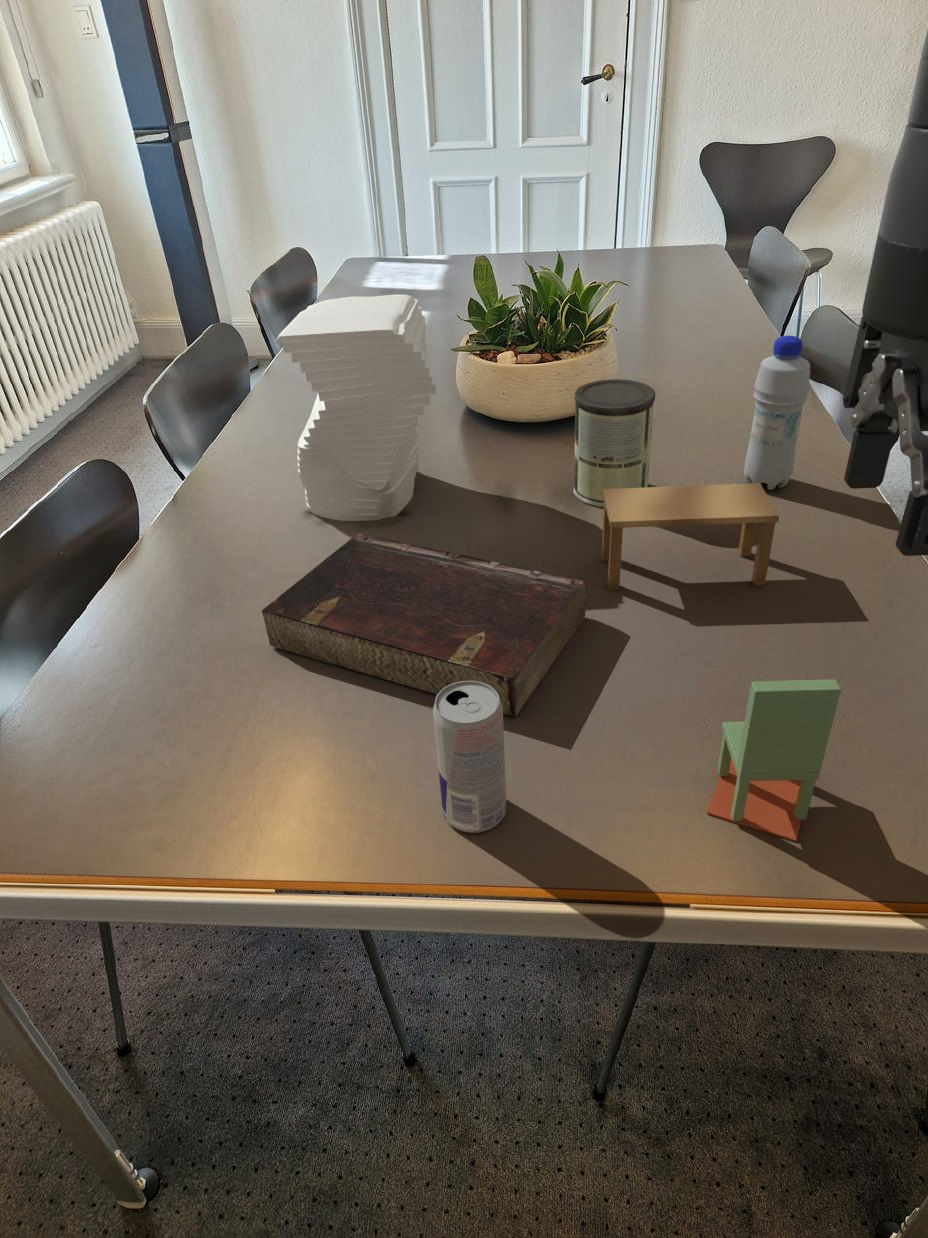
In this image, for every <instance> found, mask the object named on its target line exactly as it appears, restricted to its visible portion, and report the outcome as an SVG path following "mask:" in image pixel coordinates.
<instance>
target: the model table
mask: <svg viewBox="0 0 928 1238" xmlns="http://www.w3.org/2000/svg"><path fill="white" fill-rule="evenodd" d="M602 495H603V499H604V507H603V516H602V517H603V518H602V520H603V521H602V539H601V540H602V541H601V560H602V562H608V571H607V588H608V590H609V591H620V585H621V567H622V551H623V550H622V548H623V532H624V528H625V529H626V528H649V527H652V528H653V527H678V526H679V527H681V526H704V525H705V526H707V525H708V526H709V525H710V526H711V525H731V524H733V525H734V524H735V525H739V524H741V531H740V532H741V533H740V538H739V544H738V554H739V557H751V556H752V549H753V544H754V536H755V530H756V525H757V524H760V525H759V532H758V538H757V545H756V551H755V555H754V556H755V557H754V563H753V569H752V576H751V582H752V584H753V586H765V585H766V581H767V573H768V568H769V562H770V557H771V551H772V545H773V541H774V540H773V539H774V534H775V528H776V523H778V522H779V519H780V515H779V513H778V511H777V510H776V507H775V506H774V505H773V503H772V501H771V499H770V497H769V496H768V494H767V493H766V491H765V489H764V487H763V486H762V484H760V483H728V484H703V485H702V484H700V485H677V486H676V485H675V486H653V487H651V486H650V487H649V486H648V487H646V488H620V489H603V494H602Z"/></svg>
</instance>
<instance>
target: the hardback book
mask: <svg viewBox="0 0 928 1238" xmlns="http://www.w3.org/2000/svg"><path fill="white" fill-rule="evenodd" d="M587 590H588V589H587V581H585V580H580V579H577V578H572V577H566V576H562V575H557V574H554V573H548V572H545V571H539V570H536V569H535V570H534V569H530V568H525V567H522V566H521V567H520V566H515V565H511V564H506V563H501V562H497V561H492V560H487V559H482V558H479V557H474V556H468V555H465V554H460V553H456V552H455V553H454V552H450V551H447V550H446V551H445V550H441V549H436V548H431V547H427V546H422V545H417V544H413V543H408V542H404V541H403V542H402V541H399V540H394V539H389V538H386V537H385V538H384V537H379V536H375V535H371V534H365V533H362V532H357V533H356V534H355V535H353V536H352V537H351V538H350V539H348V540H347V541H346V542H345V543H344V544H342V545H341V546H339V547H338V548H337V549H336V550H334V551H333V553H331V554H330V555H329V556H327V557H326V558H325V559H323V561H321V562H319V564H318V565H316V566H314V568H312V569H311V570H310V571H308V573H307V574H305V575H304V576H302V577H301V578H300V579H299V580H298V581H296V582H295V583H294V584H292V586H290V587H289V588H288V589H286V590H285V591H284V592H282V593H281V594H280V595H278V596H277V597H276V598H275V599H274V600H273V601H271V602H270V603H268V605H267V606H265V607H264V608H263V609H262V610H261V613H262V618H263V621H264V626H265V630H266V634H267V638H268V639H267V640H268V643H269V646H270V647H273V648H277V649H281V650H283V651H287V652H291V653H295V654H298V655H301V656H303V657H308V658H311V659H315V660H318V661H322V662H325V663H328V664H331V665H335V666H338V667H342V668H346V669H349V670H352V671H356V672H359V673H363V674H365V675H370V676H373V677H376V678H380V679H383V680H386V681H390V682H394V683H397V684H401V685H404V686H407V687H411V688H414V689H418V690H421V691H424V692H428V693H432V694H435V695H437V694H438V693H439V692H440V691H441V690H442V689H443V688H445V687H446V686H448V685H450V684H453V683H456V682H460V681H478V682H482V683H485V684H487V685H489V686H491V687H492V688H493V689H494V690H495V691H496V692H497V694H498V695H499V699H500V701H501V703H502V707H503V715H507V716H511V717H513V718H516V717H517V716H518V714H520V711H521V710H522V709H523V707H524V706H525V704H526V703H527V702H528V700H529V699H530V697H531V696H532V694H533V693H534V692H535V690H536V689H537V687H539V686H538V685H539V684H540V683H541V681H542V680H543V678H544V677H545V675H546V674H547V673H548V671H549V670H550V668H551V667H552V665H553V664H554V662H555V661H556V659H557V658H558V656H559V655H560V654H561V653H562V651H563V649H564V648H565V646H566V645H567V644H568V642H569V640H570V639H571V637H572V636H574V634H575V632H576V630H577V629H578V628H579V626H580V625H581V623H582V622H583V620H584V619H585V618H586V611H587Z"/></svg>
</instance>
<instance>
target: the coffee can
mask: <svg viewBox="0 0 928 1238" xmlns="http://www.w3.org/2000/svg"><path fill="white" fill-rule="evenodd" d="M655 400H656V391H655V389H654V388H653V387H652V386H650V385H648V384H646V383H643V382H639V381H635V380H632V379H631V380H630V379H620V378H617V379H615V378H613V379H601V380H596V381H591V382H588V383H586V384H583V385H581V386H580V387H578V388H577V389H576V390H575V391H574V401H575V402H574V403H575V404H574V405H575V408H574V409H575V410H574V466H573V467H574V469H573V470H574V471H573V477H574V478H573V494H574V496H575V497H576V498H577V500H579V501H581V502H583V503H585V504H587V505H590V506H593V507H598V508H604V499H603V495H602V494H603V489H620V488H646V487H649V474H650V473H649V471H650V458H651V445H652V444H651V443H652V433H653V432H652V431H653V419H654V418H653V417H654V416H653V414H654V402H655Z"/></svg>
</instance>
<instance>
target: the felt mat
mask: <svg viewBox="0 0 928 1238" xmlns="http://www.w3.org/2000/svg"><path fill="white" fill-rule="evenodd" d="M736 781H737V773H736V770H735V767H734V764H733V761H732V758H731V763H730V768H729V774H728V776H719V778H718V781H717V784H716V787H715V789H714V792H713V795H712V797H711V800H710V803H709V805H708V809H707V811H706V815H709V816H711V817H716V818H719V819H721V820H725V821H728V822H731V823H734V824H738V825H741V826H743V827H748V828H751V829H754V830H757V831H761V832H763V833H767V834H770V835H773V836H776V837H779V838H783V839H786V840H789V841H791V842H797V840H798V837H799V832H800V829H801V824H802V820H796V818H795V815H794V809H795V805H796V800H797V796H798V792H799V788H800V784H801V780H779V781H750V784H749V789H748V794H747V800H746V805H745V810H744V815H743V820H742V821H733V820H732V817H731V809H732V804H733V798H734V793H735V787H736Z"/></svg>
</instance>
